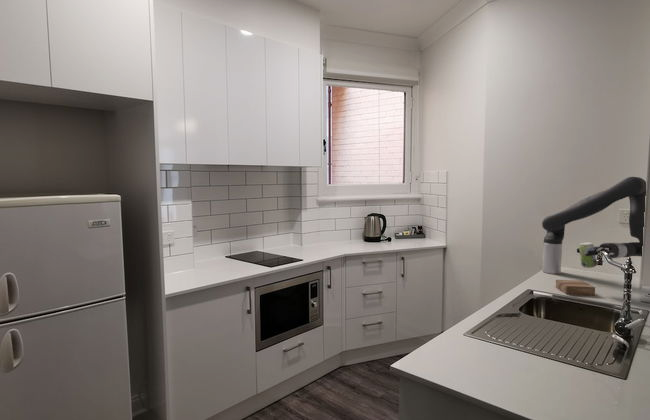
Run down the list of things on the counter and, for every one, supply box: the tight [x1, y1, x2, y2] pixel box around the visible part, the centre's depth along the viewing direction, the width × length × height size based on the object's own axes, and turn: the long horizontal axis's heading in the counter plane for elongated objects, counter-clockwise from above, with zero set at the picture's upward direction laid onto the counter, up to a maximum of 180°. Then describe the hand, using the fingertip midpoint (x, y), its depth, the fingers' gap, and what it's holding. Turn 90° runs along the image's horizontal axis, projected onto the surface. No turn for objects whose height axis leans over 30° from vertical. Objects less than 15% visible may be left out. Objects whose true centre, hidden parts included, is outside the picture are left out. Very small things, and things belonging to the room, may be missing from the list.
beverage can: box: [578, 241, 597, 269], centre depth 184 cm, size 6×7×12 cm
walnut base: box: [555, 279, 596, 297], centre depth 184 cm, size 12×12×4 cm
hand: (583, 251), depth 184 cm, fingers closed on beverage can, 5 cm apart
